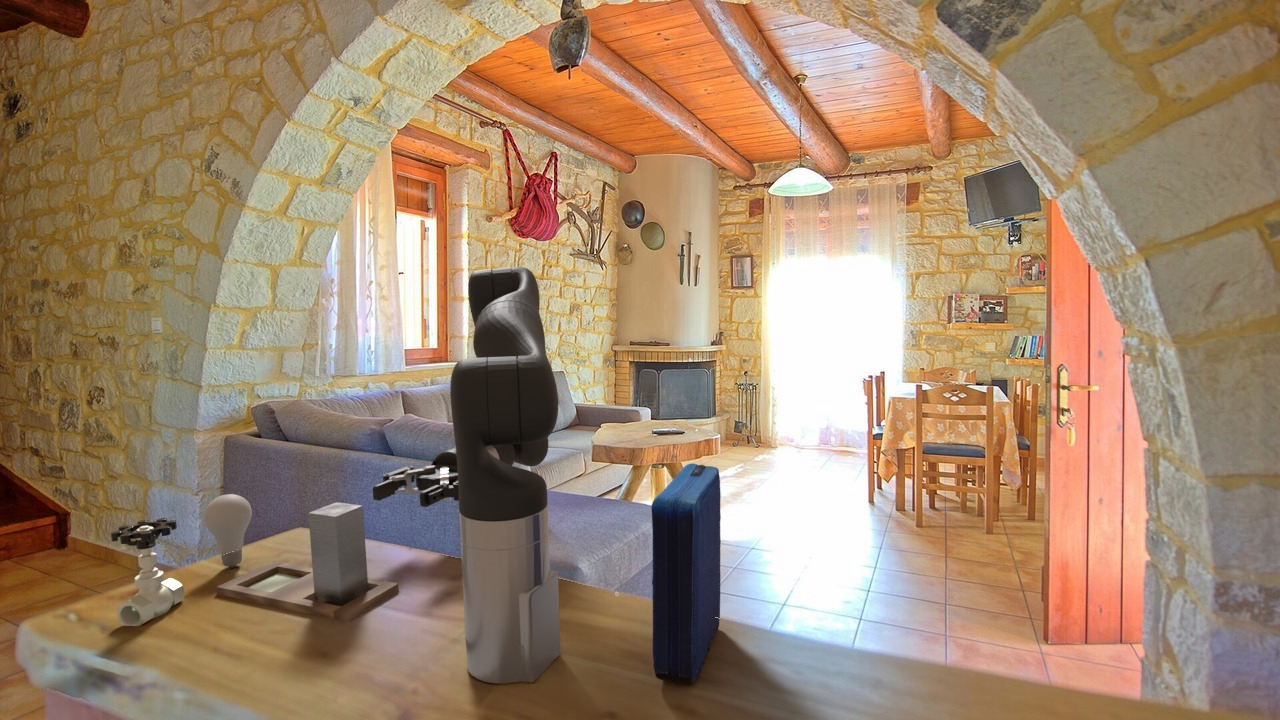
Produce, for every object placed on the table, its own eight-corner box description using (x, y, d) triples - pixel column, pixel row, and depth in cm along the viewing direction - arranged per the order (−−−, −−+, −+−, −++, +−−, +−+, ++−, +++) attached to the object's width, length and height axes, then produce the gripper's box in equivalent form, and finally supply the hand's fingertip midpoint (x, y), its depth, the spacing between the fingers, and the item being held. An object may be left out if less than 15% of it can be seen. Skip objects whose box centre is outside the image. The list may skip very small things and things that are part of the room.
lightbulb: (264, 563, 103) (258, 492, 102) (222, 578, 98) (215, 503, 96) (242, 555, 106) (236, 486, 105) (200, 570, 101) (193, 497, 100)
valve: (197, 607, 89) (189, 518, 88) (156, 632, 82) (147, 536, 81) (150, 606, 90) (141, 517, 88) (106, 631, 83) (96, 535, 82)
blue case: (683, 620, 83) (680, 458, 81) (726, 626, 81) (725, 461, 79) (648, 687, 69) (644, 494, 67) (700, 695, 67) (697, 498, 65)
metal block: (368, 594, 90) (362, 505, 88) (342, 609, 86) (335, 516, 84) (342, 589, 91) (336, 502, 90) (315, 603, 87) (308, 512, 86)
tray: (399, 596, 91) (398, 583, 91) (347, 627, 83) (346, 613, 82) (275, 573, 99) (274, 561, 99) (217, 599, 91) (216, 586, 91)
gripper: (430, 441, 115) (357, 467, 100) (502, 448, 110) (437, 476, 95) (432, 484, 116) (361, 516, 101) (504, 493, 111) (440, 528, 96)
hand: (398, 497), depth 98 cm, fingers open, 8 cm apart
